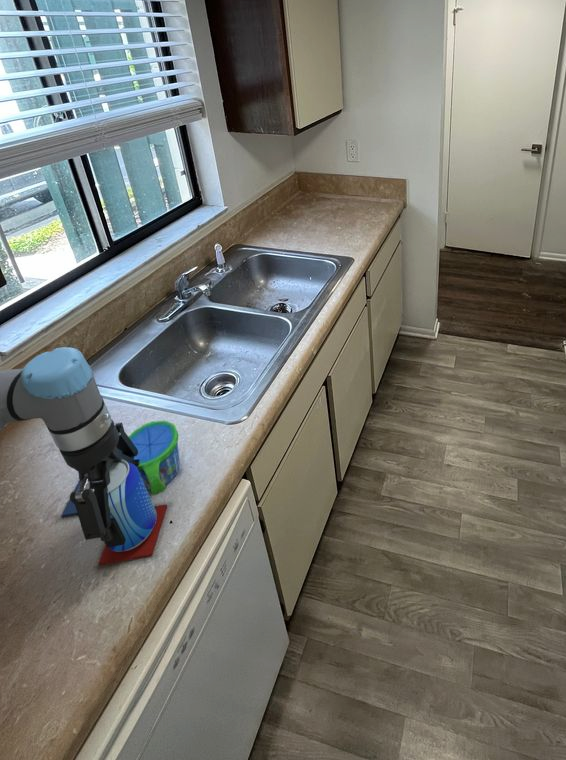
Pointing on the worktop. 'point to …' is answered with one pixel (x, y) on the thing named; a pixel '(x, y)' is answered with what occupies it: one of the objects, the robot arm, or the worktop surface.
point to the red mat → (141, 550)
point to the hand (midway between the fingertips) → (126, 517)
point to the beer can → (130, 505)
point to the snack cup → (156, 454)
